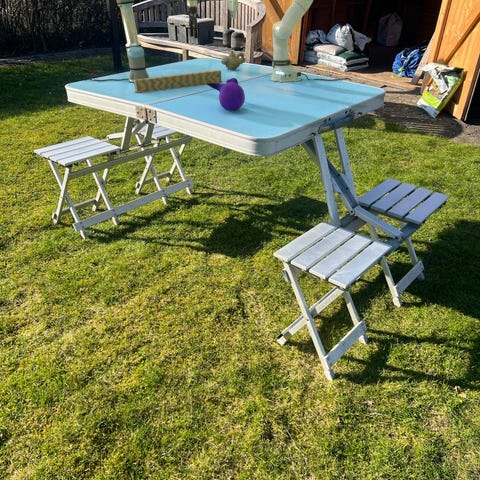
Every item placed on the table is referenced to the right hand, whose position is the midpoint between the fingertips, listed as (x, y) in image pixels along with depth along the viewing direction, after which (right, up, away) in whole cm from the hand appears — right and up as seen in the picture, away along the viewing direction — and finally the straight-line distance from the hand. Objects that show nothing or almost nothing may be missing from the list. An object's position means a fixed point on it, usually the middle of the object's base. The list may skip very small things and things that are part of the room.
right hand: (233, 18), depth 311 cm
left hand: (-31, +3, +36) cm, 48 cm away
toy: (-3, -77, -47) cm, 90 cm away
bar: (-38, -45, +9) cm, 59 cm away
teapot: (-1, -13, +62) cm, 63 cm away
